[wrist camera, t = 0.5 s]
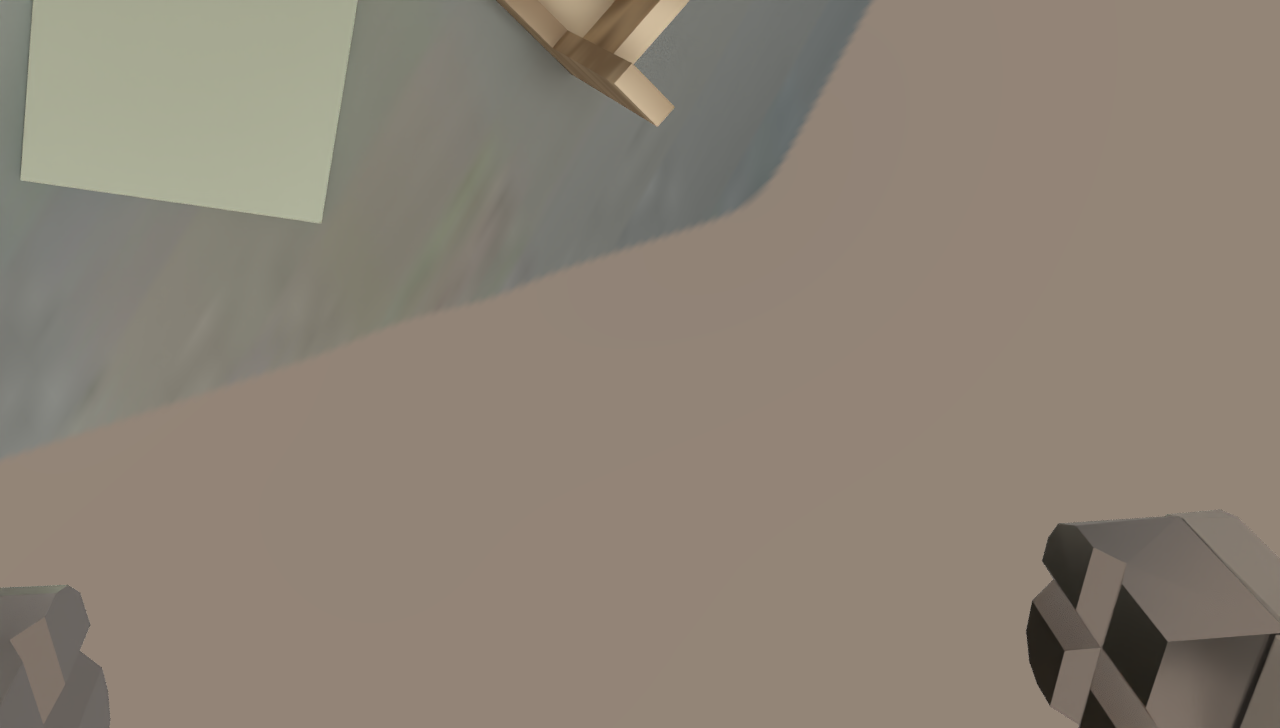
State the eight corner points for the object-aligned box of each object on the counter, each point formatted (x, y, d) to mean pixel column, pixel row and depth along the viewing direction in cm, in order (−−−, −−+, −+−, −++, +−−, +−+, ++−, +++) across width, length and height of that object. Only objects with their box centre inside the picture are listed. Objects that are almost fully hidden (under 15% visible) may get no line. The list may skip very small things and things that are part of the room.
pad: (43, -132, 42) (42, -131, 42) (364, -52, 47) (366, -50, 47) (21, 177, 46) (20, 180, 46) (319, 220, 51) (321, 223, 51)
